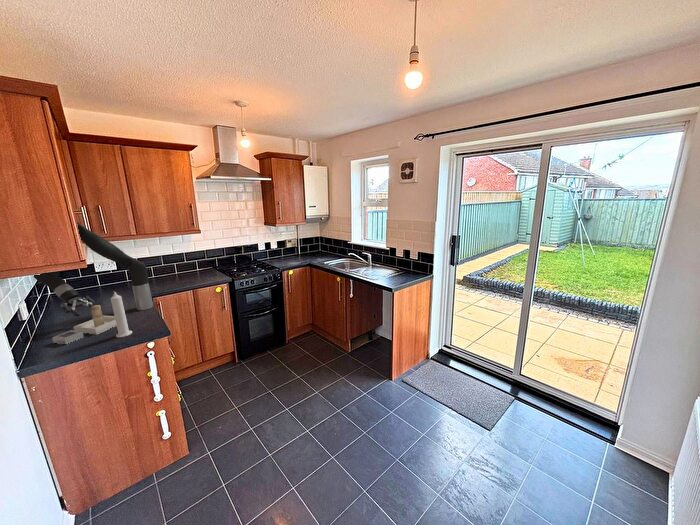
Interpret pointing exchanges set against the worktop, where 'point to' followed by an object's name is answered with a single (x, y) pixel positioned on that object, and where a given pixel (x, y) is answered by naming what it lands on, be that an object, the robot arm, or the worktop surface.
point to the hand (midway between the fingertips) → (87, 312)
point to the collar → (68, 337)
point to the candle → (120, 316)
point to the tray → (91, 329)
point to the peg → (97, 315)
